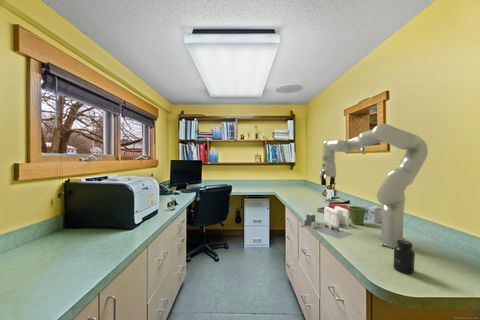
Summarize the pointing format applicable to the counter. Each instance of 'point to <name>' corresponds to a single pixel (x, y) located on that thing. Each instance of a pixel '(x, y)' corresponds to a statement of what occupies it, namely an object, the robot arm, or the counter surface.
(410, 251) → the supplement bottle
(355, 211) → the plant pot
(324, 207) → the tray
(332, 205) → the red device housing
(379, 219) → the light bulb box
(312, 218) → the block
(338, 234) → the board
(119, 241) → the counter surface
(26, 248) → the counter surface
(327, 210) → the cable organizer
